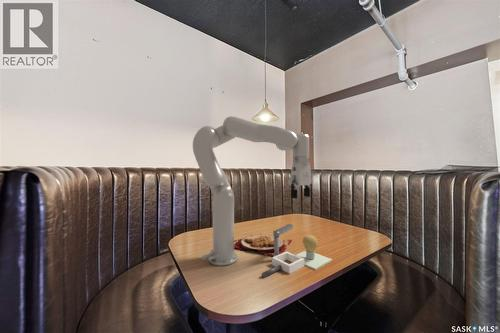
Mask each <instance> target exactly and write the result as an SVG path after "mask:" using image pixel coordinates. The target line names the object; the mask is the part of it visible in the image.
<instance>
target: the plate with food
mask: <svg viewBox="0 0 500 333" xmlns="http://www.w3.org/2000/svg"><path fill="white" fill-rule="evenodd" d="M292 241H293V240H292V239H286V240H285V239H281V238H279V254H282V253H284V252H285V251H286V249H287V245H288V246H290V245H291V243H292ZM285 242H287V244H285ZM234 249H239V251H249V252H251V253H253V251H252V249H253V250H257V251H258V252H257V253H259V254H260V255H264V256H273V257H274V236H273V235H269V234H268V235H267V234H262V233H261V234H255V235H251V234H250V235H249V236H246V237H244V238H239V239H234Z"/></svg>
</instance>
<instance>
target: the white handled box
mask: <svg viewBox="0 0 500 333" xmlns="http://www.w3.org/2000/svg"><path fill="white" fill-rule="evenodd" d="M273 237H274V253H273V255H274V256H273V257H271V265H272V266H273V267H272V268H269V269H268V270H265V271H263V272H262V273H261V277H262V278H265V277H269V276H270V275H272V274H274V273H276V272H278V271H280V270H282V271H283V272H285V273H287V274H289V275H290V274H292V273H294V272H296V271H298V270H300V269H302V268H303V267H305V265H304V259H303V258H301V257H299V256H296V254H294V253H291V252H288V251H283V253H281V254H279V239H280V238H279V237H280V236H278V237H276V236H273ZM285 261H288V262H291V263H287V262H285Z"/></svg>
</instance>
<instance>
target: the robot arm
mask: <svg viewBox="0 0 500 333" xmlns="http://www.w3.org/2000/svg"><path fill="white" fill-rule="evenodd" d="M235 138H240V139H243V140H246V141H250V142H252V143H270V144H274V145H275V146H276V148H277V149H278V150H280V151H292V165H291V171H290V172H291V174H290V178H288V179H287V182H288V186H289V189H290V198H291V199H298V189H297V188H298V187H299V186H303V187H304V188H303V196H304V197H305V198H306V197H307V198H310V197H311V189H312V184H313V178H312V169H311V168H312V167H311V163H310V136H309V135H308V134H307V133H306V134H305V133H300V134H299V133H298V134H296V133H295V132H293V131H291V130H289V129H285V128H283V127H280V126H275V125H267V124H260V123H256V122H253V121H250V120H246V119H243V118H239V117H236V116H232V115H231V116H227V117H226V118H225V119H224V120H223V123H222V125H221V126H218V127H216V128H215V127H213V126H211V125H210V126H209V125H206V126H205V125H204V126H202V127H201V128H200V129H199V130H197V131H196V132H195V135H194V136H193V140H192V151H193V155H194V158H195V161H196V163H197V165H198V167H199V171H200V173H201V176H202V177H203V180H204V182H205V185H207V186H208V187H209V188H210V191H211V193H212V195H213V196H212V200H211V201H212V202H211V207H212V209H211V210H212V249H210V252H208V253H207V254H202V257H201V258H202V261H205V260H208V261H209V263H210V264H212V265H215V266H220V267H222V266H223V267H224V266H229V265H232V264H234V263H236V262H237V261H238V258H239V257H238V254H237V253H236V252H235V248H234V244H235V242H234V240H235V194H234V191H233V188H232V187H231V185H230V182H229V180H228V178H227V174H226V173H225V171H224V170H223V169H222V168H221V166H220V164H219V162H218V159H217V157H216V154H215V152H214V150H213V149H215V148H217V147H219V146H221V145H224V144H225V143H228V142H229V141H232V140H233V139H235Z"/></svg>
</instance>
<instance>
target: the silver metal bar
mask: <svg viewBox="0 0 500 333" xmlns="http://www.w3.org/2000/svg"><path fill="white" fill-rule="evenodd" d="M293 226H294V225H293V224H291V223H288V224H286V225H284V226H282V227H280V228H277V229H276V230H273V231H272V232H273V233H272V234H273V235H272V236H273V237H274V236H276V237H278V236H279V237H280V236H281V235H283V234H285V233H287V232H288V231H290V230H293Z"/></svg>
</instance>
